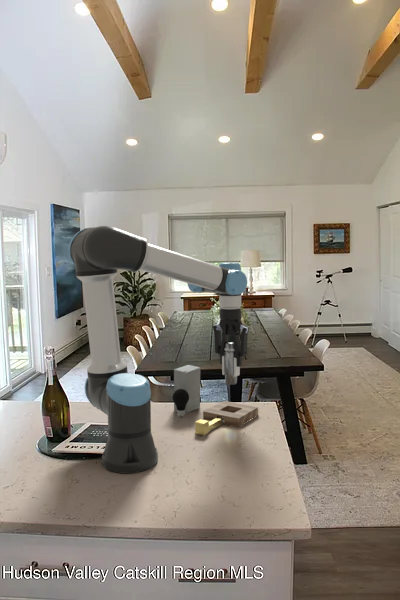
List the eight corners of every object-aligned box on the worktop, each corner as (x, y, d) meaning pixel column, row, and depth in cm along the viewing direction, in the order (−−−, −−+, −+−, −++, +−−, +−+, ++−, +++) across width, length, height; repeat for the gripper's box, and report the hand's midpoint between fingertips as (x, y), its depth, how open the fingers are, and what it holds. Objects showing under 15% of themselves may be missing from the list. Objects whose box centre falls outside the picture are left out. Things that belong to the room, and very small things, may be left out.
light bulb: (179, 413, 171) (179, 386, 171) (192, 416, 168) (192, 388, 167) (169, 417, 167) (168, 389, 166) (182, 421, 163) (182, 392, 162)
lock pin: (203, 435, 149) (203, 423, 149) (195, 433, 151) (195, 421, 151) (223, 424, 159) (223, 413, 159) (215, 422, 161) (215, 411, 161)
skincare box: (187, 404, 181) (187, 364, 180) (202, 408, 177) (201, 366, 175) (172, 410, 175) (171, 368, 173) (187, 414, 170) (186, 371, 169)
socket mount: (238, 427, 157) (238, 418, 156) (203, 419, 164) (203, 411, 164) (258, 415, 168) (258, 407, 168) (224, 408, 176) (224, 400, 176)
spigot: (233, 385, 162) (233, 345, 161) (221, 383, 165) (221, 343, 163) (240, 382, 166) (239, 342, 165) (228, 380, 168) (228, 341, 167)
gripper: (257, 307, 161) (257, 375, 163) (215, 305, 171) (216, 369, 173) (247, 310, 155) (247, 380, 157) (203, 307, 165) (204, 373, 167)
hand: (230, 374), depth 165 cm, fingers closed on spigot, 4 cm apart
